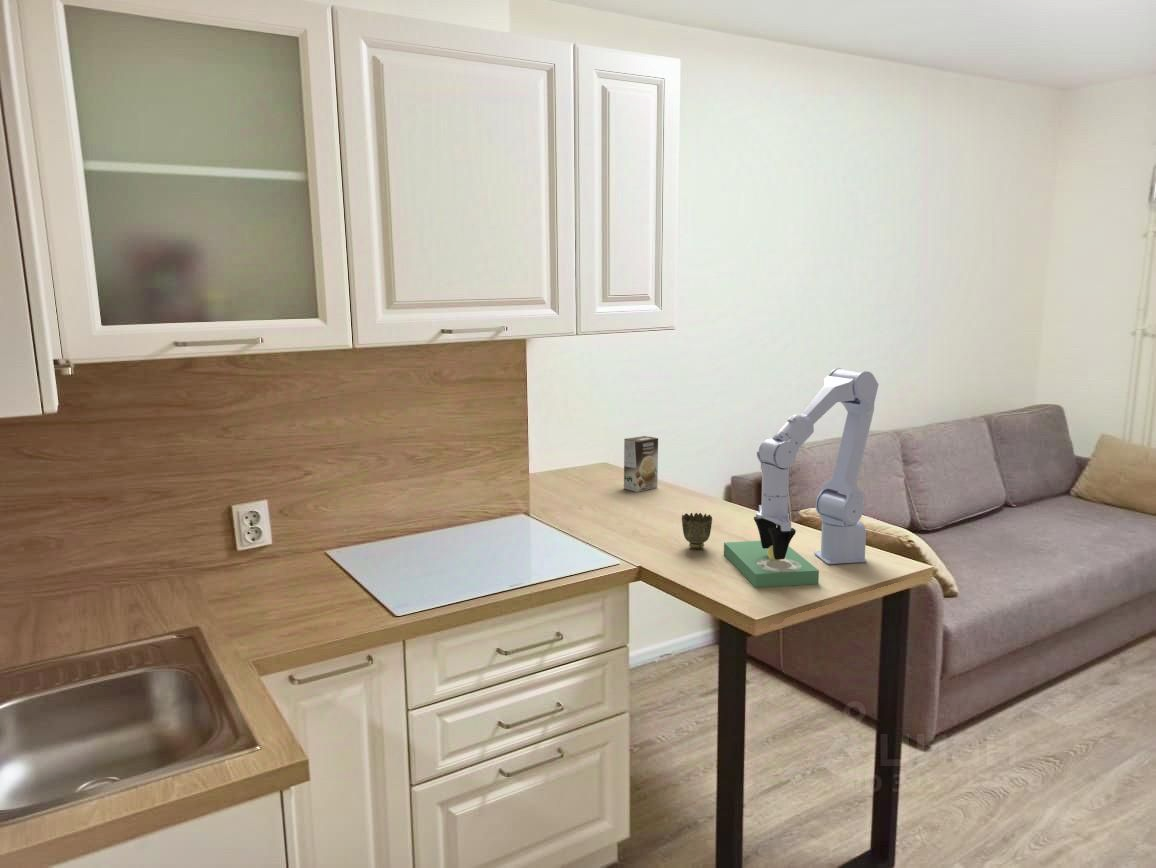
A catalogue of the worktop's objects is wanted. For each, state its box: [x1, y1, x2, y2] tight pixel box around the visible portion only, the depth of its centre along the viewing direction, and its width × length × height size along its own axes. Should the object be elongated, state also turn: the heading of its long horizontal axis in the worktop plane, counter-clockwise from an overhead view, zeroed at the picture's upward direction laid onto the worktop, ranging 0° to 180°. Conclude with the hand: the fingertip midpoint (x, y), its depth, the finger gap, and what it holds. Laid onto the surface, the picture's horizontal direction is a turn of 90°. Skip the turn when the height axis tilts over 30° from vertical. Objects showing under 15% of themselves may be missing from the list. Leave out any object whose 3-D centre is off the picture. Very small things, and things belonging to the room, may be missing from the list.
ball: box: [767, 545, 781, 561], centre depth 183 cm, size 4×4×4 cm
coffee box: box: [623, 435, 659, 493], centre depth 260 cm, size 9×6×16 cm
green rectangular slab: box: [723, 540, 820, 589], centre depth 187 cm, size 14×22×3 cm, turn 8°
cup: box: [681, 512, 713, 550], centre depth 202 cm, size 8×7×8 cm
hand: (773, 553), depth 184 cm, fingers open, 7 cm apart
